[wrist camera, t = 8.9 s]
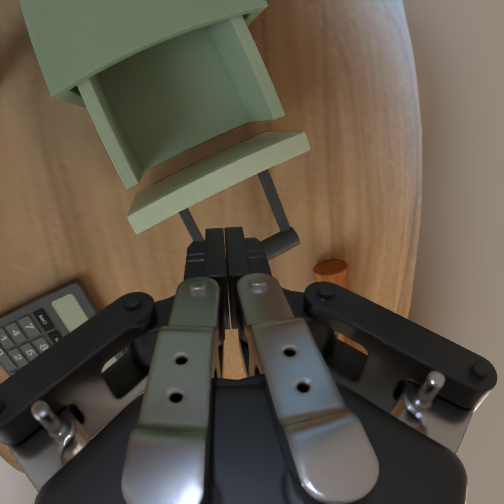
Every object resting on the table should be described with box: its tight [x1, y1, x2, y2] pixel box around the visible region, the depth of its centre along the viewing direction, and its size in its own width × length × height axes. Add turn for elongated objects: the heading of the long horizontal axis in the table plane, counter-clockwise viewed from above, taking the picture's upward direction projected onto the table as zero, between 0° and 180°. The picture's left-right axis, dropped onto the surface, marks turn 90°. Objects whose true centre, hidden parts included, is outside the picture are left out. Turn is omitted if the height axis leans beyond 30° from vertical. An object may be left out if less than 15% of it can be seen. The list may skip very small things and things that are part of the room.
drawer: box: [77, 15, 311, 261], centre depth 19 cm, size 19×11×7 cm, turn 23°
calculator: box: [0, 280, 126, 376], centre depth 25 cm, size 12×1×15 cm
